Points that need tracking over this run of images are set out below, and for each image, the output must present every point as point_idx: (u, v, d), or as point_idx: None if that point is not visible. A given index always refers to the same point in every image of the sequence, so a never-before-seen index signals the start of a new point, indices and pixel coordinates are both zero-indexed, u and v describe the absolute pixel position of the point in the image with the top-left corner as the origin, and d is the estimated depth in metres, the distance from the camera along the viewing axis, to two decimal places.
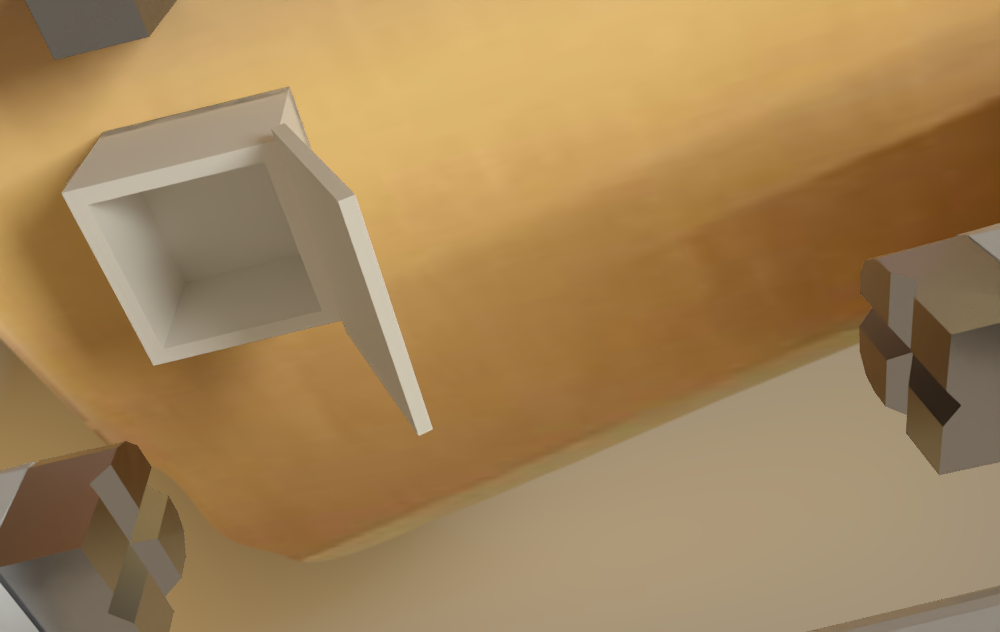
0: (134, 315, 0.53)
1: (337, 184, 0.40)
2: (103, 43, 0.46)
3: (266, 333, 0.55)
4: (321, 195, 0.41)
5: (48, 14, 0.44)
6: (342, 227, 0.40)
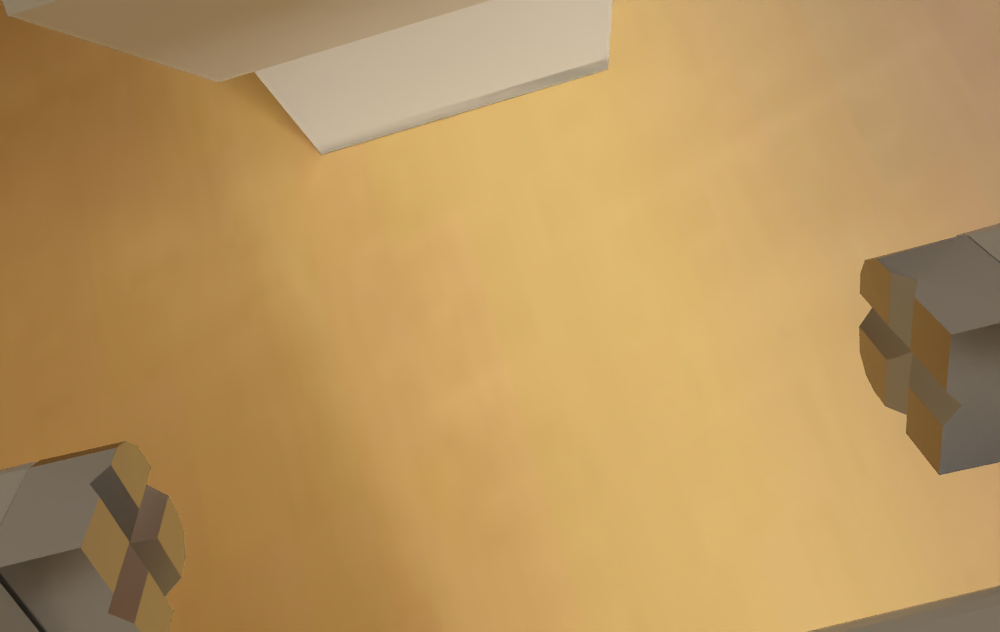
0: None
1: None
2: None
3: None
4: None
5: None
6: None
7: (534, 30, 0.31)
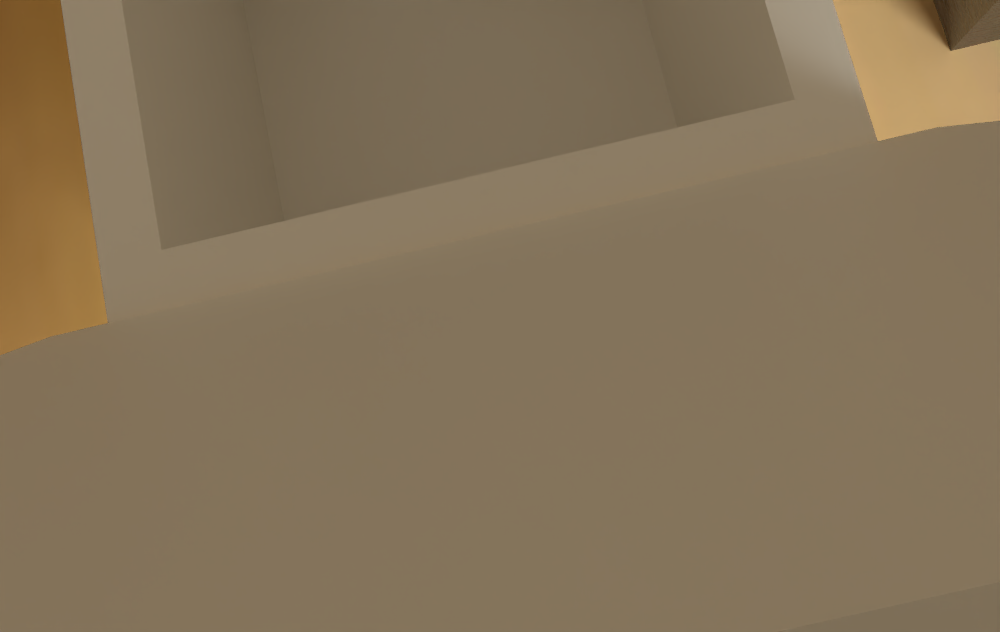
0: None
1: None
2: None
3: (87, 44, 0.15)
4: None
5: None
6: None
7: None
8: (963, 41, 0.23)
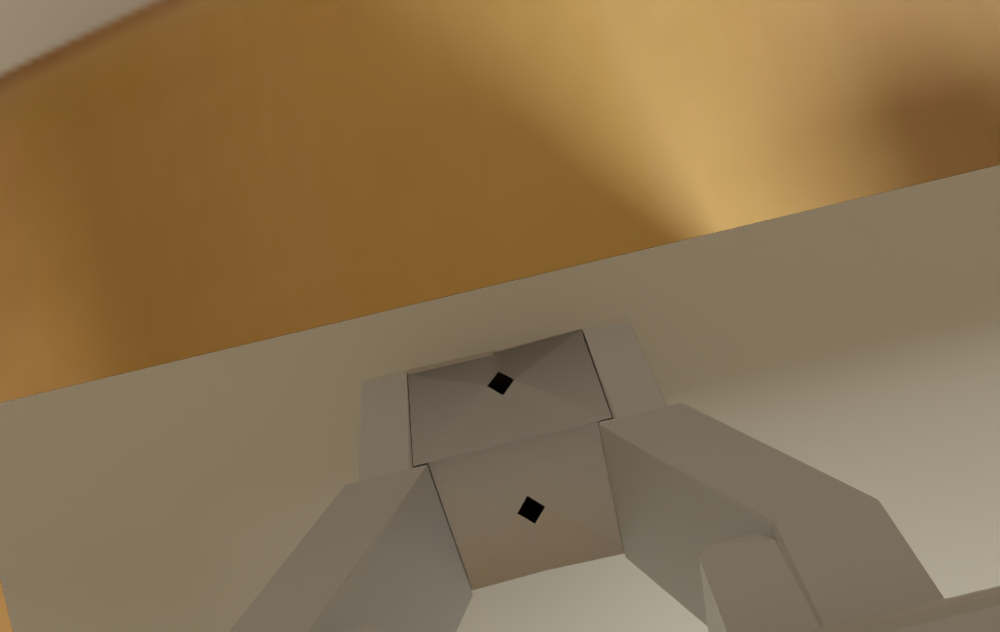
0: None
1: None
2: None
3: None
4: None
5: None
6: None
7: None
8: None
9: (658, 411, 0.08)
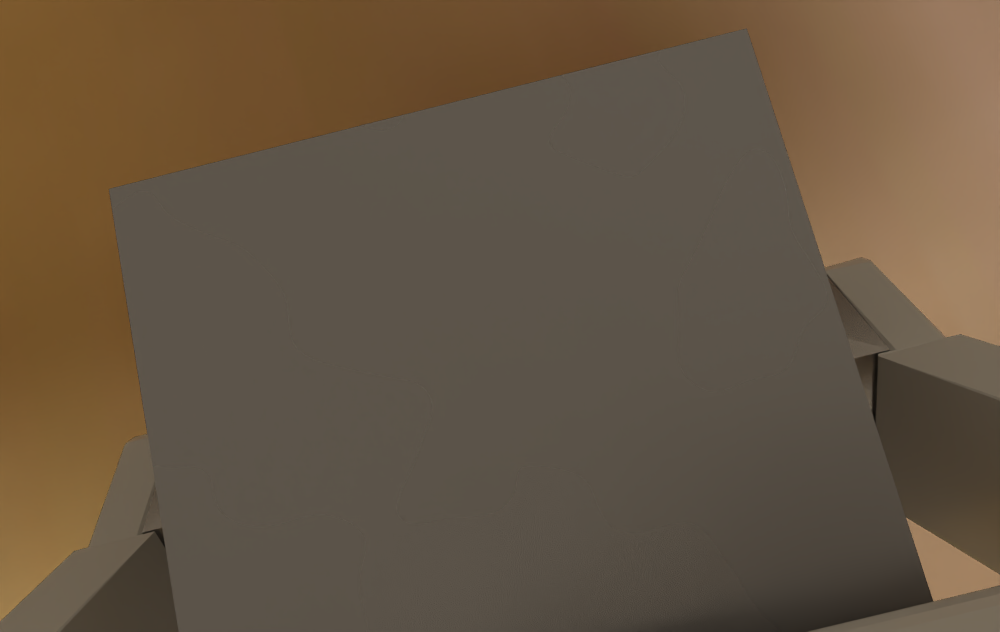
0: None
1: None
2: (192, 535, 0.06)
3: None
4: None
5: (403, 212, 0.07)
6: None
7: None
8: None
9: (938, 342, 0.08)
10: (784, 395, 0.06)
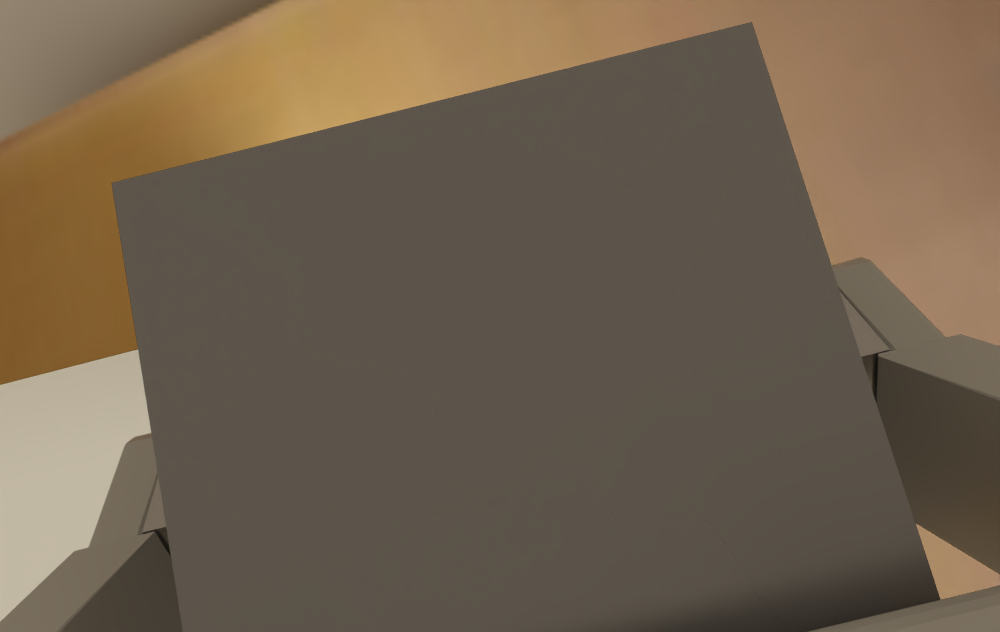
0: None
1: None
2: (196, 529, 0.06)
3: None
4: None
5: (407, 206, 0.07)
6: None
7: None
8: None
9: (939, 343, 0.08)
10: (790, 389, 0.06)
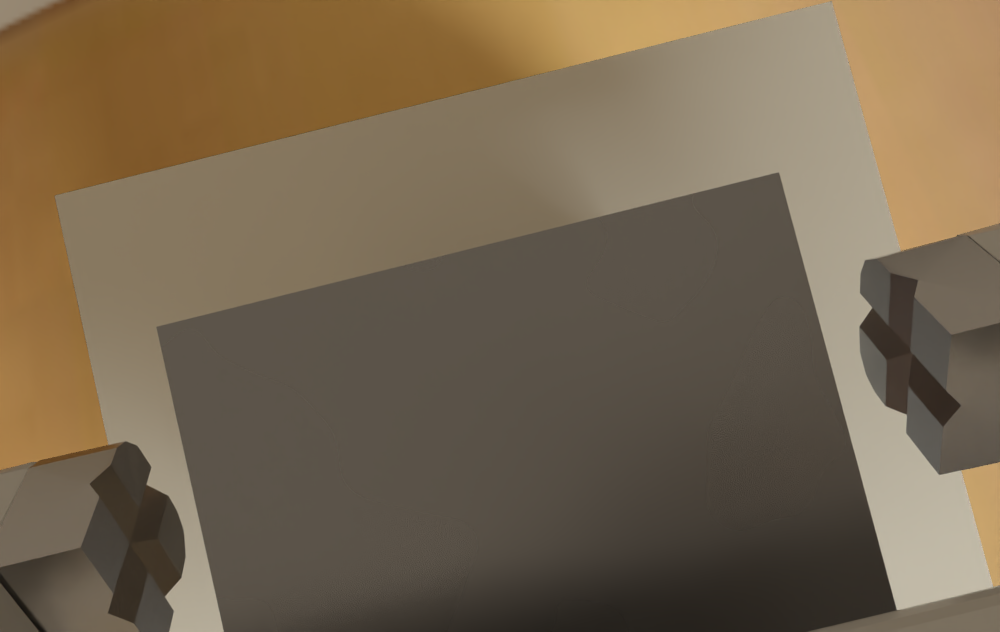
0: None
1: None
2: None
3: None
4: None
5: (445, 354, 0.07)
6: None
7: None
8: None
9: None
10: (802, 535, 0.07)
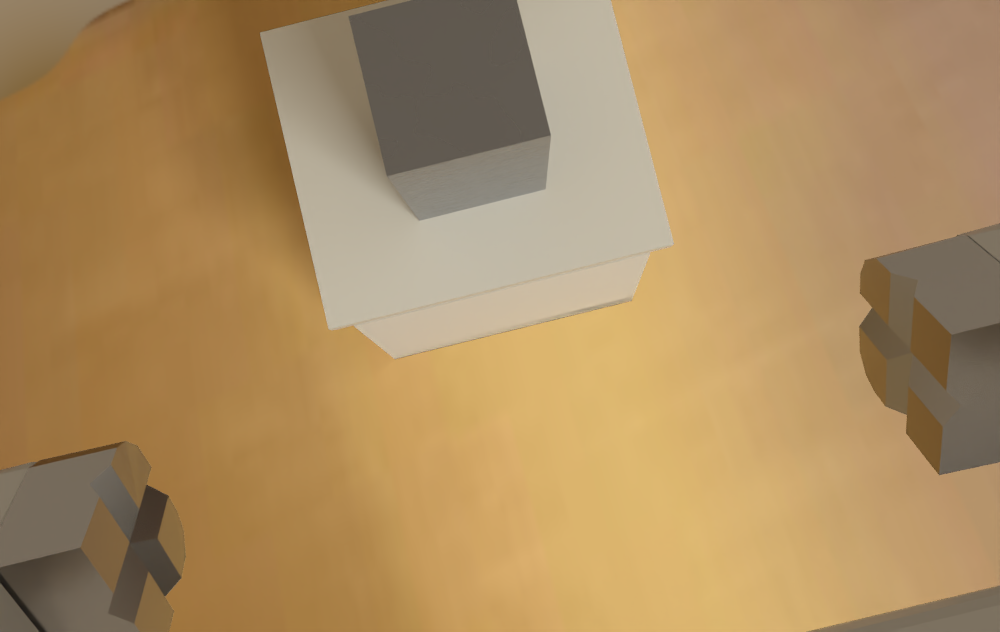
0: None
1: None
2: (375, 100, 0.27)
3: None
4: None
5: (423, 22, 0.27)
6: None
7: (578, 293, 0.39)
8: (421, 218, 0.34)
9: None
10: (514, 66, 0.27)
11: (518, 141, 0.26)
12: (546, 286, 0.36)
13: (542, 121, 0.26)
